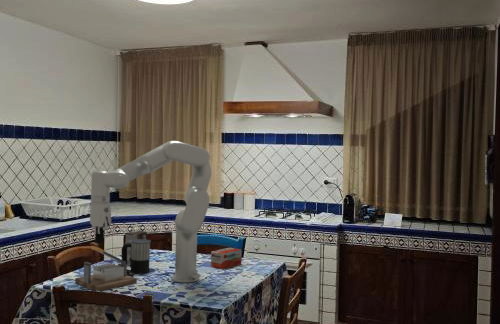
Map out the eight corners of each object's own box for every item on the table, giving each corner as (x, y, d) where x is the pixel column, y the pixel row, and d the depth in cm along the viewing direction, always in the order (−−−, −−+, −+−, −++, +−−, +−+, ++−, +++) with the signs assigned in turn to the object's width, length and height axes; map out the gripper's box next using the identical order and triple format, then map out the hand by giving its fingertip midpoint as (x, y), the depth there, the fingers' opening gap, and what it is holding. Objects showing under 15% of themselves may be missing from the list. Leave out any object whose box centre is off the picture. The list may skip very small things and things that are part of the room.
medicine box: (229, 262, 260) (230, 247, 259) (241, 264, 255) (242, 249, 254) (210, 267, 248) (210, 251, 248) (222, 269, 243) (222, 253, 243)
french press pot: (139, 261, 255) (139, 230, 255) (146, 263, 251) (147, 231, 251) (124, 264, 248) (125, 232, 248) (132, 266, 244) (133, 234, 244)
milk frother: (150, 269, 240) (151, 238, 240) (149, 277, 224) (149, 245, 224) (120, 269, 238) (121, 238, 237) (116, 278, 222) (117, 245, 222)
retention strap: (119, 262, 222) (120, 259, 222) (126, 264, 218) (127, 262, 218) (90, 248, 211) (91, 245, 211) (97, 250, 207) (98, 247, 207)
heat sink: (130, 277, 217) (130, 258, 217) (92, 284, 203) (92, 265, 203) (117, 272, 224) (118, 254, 223) (79, 280, 210) (80, 260, 210)
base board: (136, 283, 215) (136, 278, 215) (97, 291, 201) (97, 287, 201) (113, 275, 227) (114, 270, 227) (75, 282, 213) (75, 278, 213)
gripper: (117, 200, 208) (116, 244, 208) (99, 197, 218) (98, 239, 218) (101, 202, 202) (100, 246, 203) (83, 198, 212) (82, 241, 213)
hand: (99, 242), depth 211 cm, fingers closed
